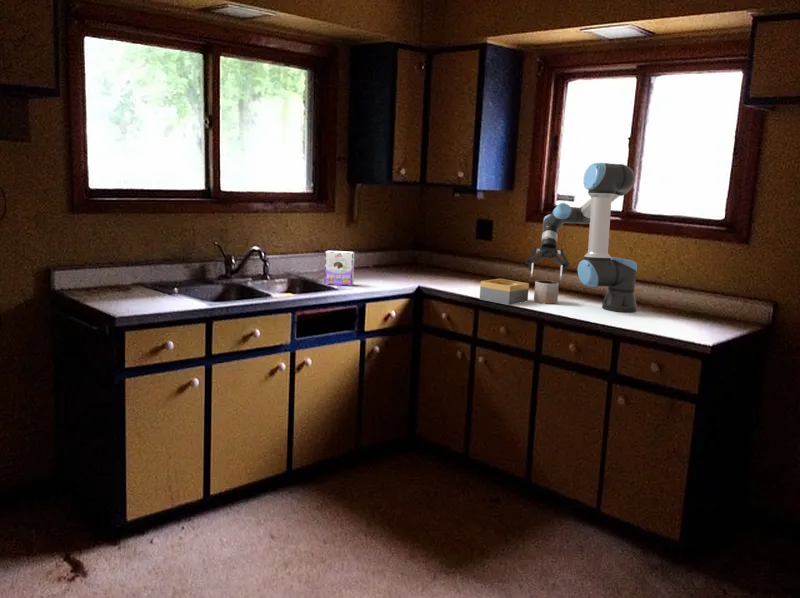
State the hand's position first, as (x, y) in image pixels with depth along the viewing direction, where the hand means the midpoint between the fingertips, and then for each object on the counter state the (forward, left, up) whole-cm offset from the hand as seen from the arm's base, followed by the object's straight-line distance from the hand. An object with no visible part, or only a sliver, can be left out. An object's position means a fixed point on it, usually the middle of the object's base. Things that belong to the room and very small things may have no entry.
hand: (546, 276), depth 352 cm
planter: (-4, +6, -11) cm, 13 cm away
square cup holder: (+10, +20, -11) cm, 25 cm away
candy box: (+83, +55, -11) cm, 100 cm away
